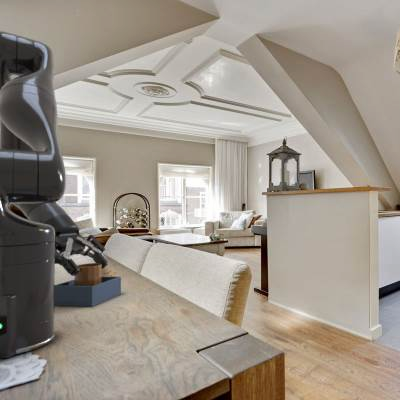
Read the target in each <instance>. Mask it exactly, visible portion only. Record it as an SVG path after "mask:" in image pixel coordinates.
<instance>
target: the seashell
mask: <svg viewBox="0 0 400 400" xmlns="http://www.w3.org/2000/svg"><path fill="white" fill-rule="evenodd" d="M116 274H118V272H117V271H115V270H114V269H112V268H111V267H109V266H106V267H105V268H103V269H102V276H101V277H115V275H116Z"/></svg>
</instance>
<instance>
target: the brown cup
mask: <svg viewBox="0 0 400 400" xmlns="http://www.w3.org/2000/svg"><path fill="white" fill-rule="evenodd" d="M76 265H77V266H78V267H79V269H80V271H79V272H78V273H77V275H75V276H74V279H75V283H74V286H94V285H97V284H100V283H101V276H102V264H100V263H95V262H89V263H80V264H76Z"/></svg>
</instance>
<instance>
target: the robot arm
mask: <svg viewBox="0 0 400 400" xmlns="http://www.w3.org/2000/svg"><path fill="white" fill-rule="evenodd" d="M12 76H16V77H14V78H13V77H12ZM54 80H55V58H54V53H53V51H52V49H51V48H50V46H49V45H48V44H46V43H44V42H42V41H39V40H36V39H32V38H29V37H26V36H22V35H18V34H15V33H11V32H7V31H2V30H0V359H1V358H3V359H9V358H12V357H13V356H16V355H19V354H22V353H26V352H29V351H33V350H36V349H38V348H42V347H44V346H45V345H48V344H49V343H50V342H52V341H53V340H54V339H55V338H56V337H55V336H56V332H55V305H54V285H55V270H56V269H55V265H58V266H62V267H63V269H64V270H65V271H66V272H67V274H68V275H70V276H72V277H75V275H77V273H78V272H79V271H80V269H79V267H78V266H77V265H78V264H76V262H75V261H74V260H73V259H72V258H71V256H74V255H81V256H83V257H88V258H90V259H92V261H94V263H100V264H102V269H103V268H105V267H108V265H109V262H108V259H106V258H105V257H104V255H103V253H104V251H105V250H106V247H104V246H103V244H102V243H101V242H100V241H99V240H98V239H97V238H96V237H95V236H94V235H93V234H89V235H88V236H86V237H84V236H82V235H81V234H80V227H79V226H78V225H77V224H76V222H75V221H74V220H73V219H72V218H71V217H70V215H69V214H68V213H67V211H66V210H65V209H64V208H62V207H61V206H60V205H59V204H58V203H57V202H59V201H60V200H62V198H63V197H64V195H65V192H66V188H67V175H66V169H65V168H66V167H65V161H64V157H63V154H62V148H61V144H60V139H59V121H58V120H59V116H58V115H59V114H58V106H57V100H56V99H57V98H56V93H55V86H54V85H55V84H54V82H55V81H54ZM11 204H12V205H13V206H14V207H16V208H18V209H19V210H20V211H21V212H22V213H23V215H24V216H25V217H26V218H25V217H22V216H20V215H19V214H16V213H15V212H13V211H12V210H11V209H10V205H11ZM86 247H87V249H86ZM91 251H92V252H91Z"/></svg>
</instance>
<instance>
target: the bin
mask: <svg viewBox="0 0 400 400" xmlns="http://www.w3.org/2000/svg"><path fill="white" fill-rule="evenodd" d="M74 283H75V278H74V279H71V280H68V281H65V282H60V283H57V284H54V306H61V307H62V306H64V307H66V306H67V307H94V306H96V305H99V304H101V303H104V302H106V301H108V300H111V299H113V298H115V297H117V296H120V295H121V294H122V277H121V276H113V277H101V283H100V284H97V285H94V286H74Z"/></svg>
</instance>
